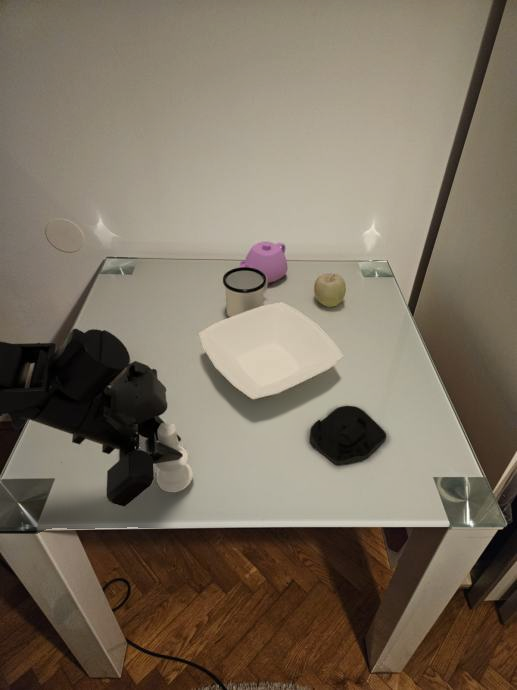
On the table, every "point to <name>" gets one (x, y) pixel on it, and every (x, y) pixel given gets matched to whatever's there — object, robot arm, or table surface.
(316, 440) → the black low lumpy piece
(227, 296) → the mug
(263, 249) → the teapot
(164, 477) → the candle
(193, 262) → the table surface
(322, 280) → the fruit
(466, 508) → the table surface
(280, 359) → the bowl
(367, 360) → the table surface
